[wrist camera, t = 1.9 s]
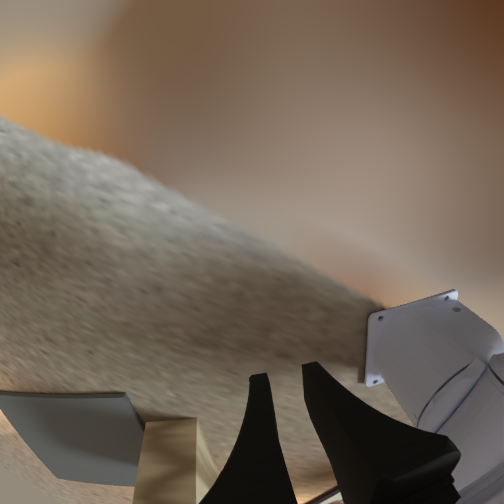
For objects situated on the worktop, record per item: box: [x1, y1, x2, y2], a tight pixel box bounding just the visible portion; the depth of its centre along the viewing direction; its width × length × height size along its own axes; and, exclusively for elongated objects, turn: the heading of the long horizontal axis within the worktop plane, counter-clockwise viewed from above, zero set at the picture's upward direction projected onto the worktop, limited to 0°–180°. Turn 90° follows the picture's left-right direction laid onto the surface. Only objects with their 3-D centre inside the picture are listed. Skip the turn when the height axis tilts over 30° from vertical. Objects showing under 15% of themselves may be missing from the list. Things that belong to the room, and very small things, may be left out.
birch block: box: [133, 418, 217, 504], centre depth 21 cm, size 5×8×12 cm, turn 8°
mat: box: [0, 391, 145, 487], centre depth 26 cm, size 18×16×1 cm
